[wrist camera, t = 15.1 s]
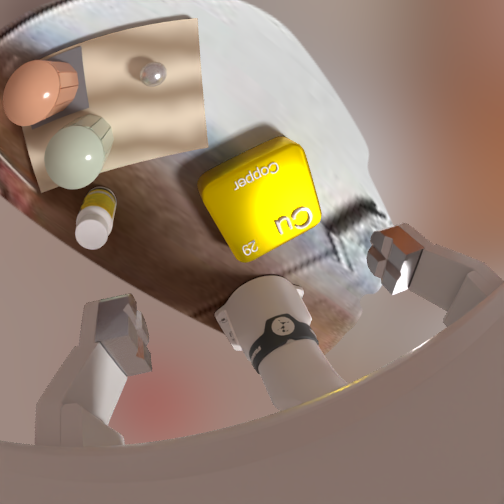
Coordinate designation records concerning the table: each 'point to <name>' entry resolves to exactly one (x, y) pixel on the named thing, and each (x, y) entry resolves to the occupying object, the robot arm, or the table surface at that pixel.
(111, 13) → the table surface
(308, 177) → the element tile
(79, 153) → the sage cup
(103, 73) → the birch board
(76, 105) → the charcoal mat
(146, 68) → the steel marble
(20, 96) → the terracotta cup
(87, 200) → the supplement bottle
